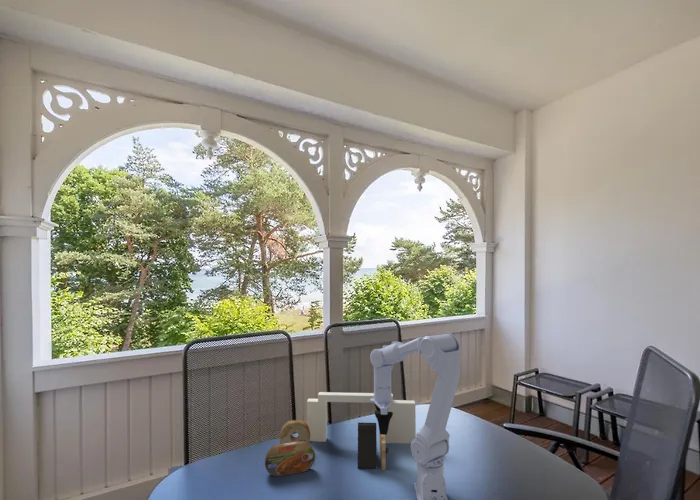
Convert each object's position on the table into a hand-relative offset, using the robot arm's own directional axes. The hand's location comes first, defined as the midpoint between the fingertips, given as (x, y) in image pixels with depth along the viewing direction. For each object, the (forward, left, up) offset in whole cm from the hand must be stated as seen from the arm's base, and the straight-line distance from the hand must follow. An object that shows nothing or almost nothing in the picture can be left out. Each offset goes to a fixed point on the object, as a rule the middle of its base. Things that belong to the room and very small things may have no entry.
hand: (382, 428), depth 115 cm
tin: (-7, +29, -11) cm, 31 cm away
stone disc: (+6, +30, -11) cm, 32 cm away
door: (+4, -1, -10) cm, 11 cm away
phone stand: (0, +5, -11) cm, 12 cm away
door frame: (+14, +7, -10) cm, 19 cm away
